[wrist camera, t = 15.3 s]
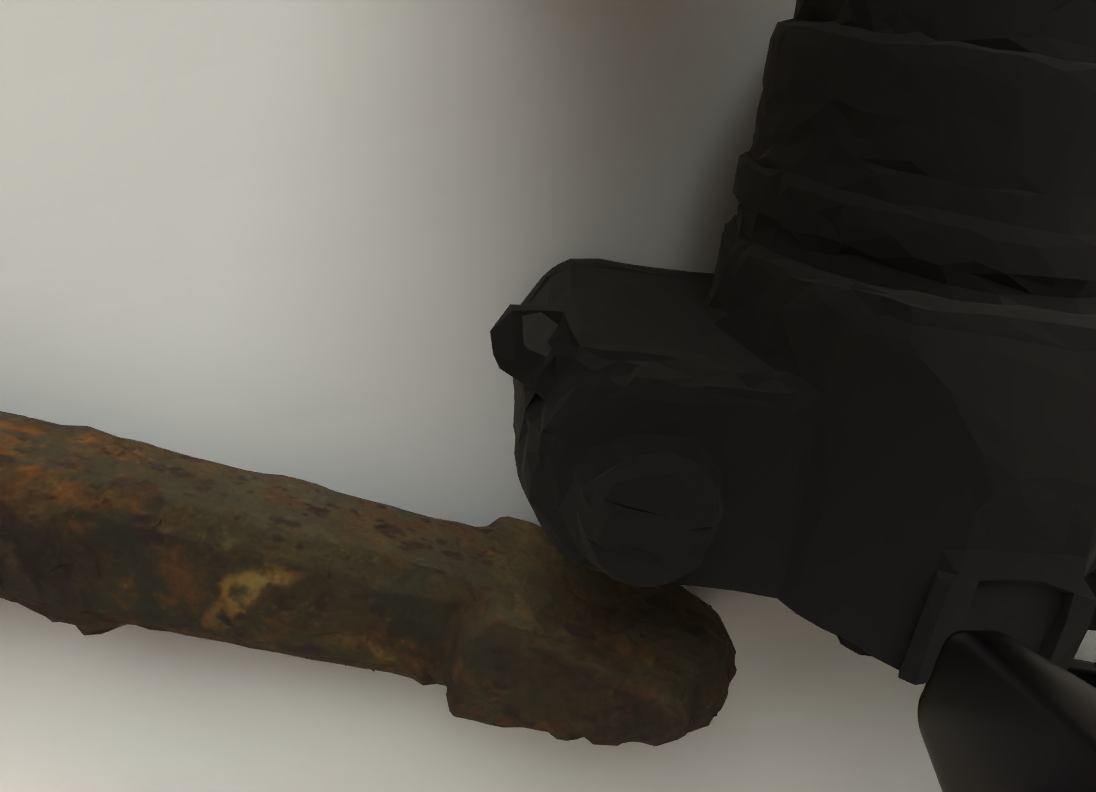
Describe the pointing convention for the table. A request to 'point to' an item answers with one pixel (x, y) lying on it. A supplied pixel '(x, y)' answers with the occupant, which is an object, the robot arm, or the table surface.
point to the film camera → (854, 346)
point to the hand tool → (351, 587)
